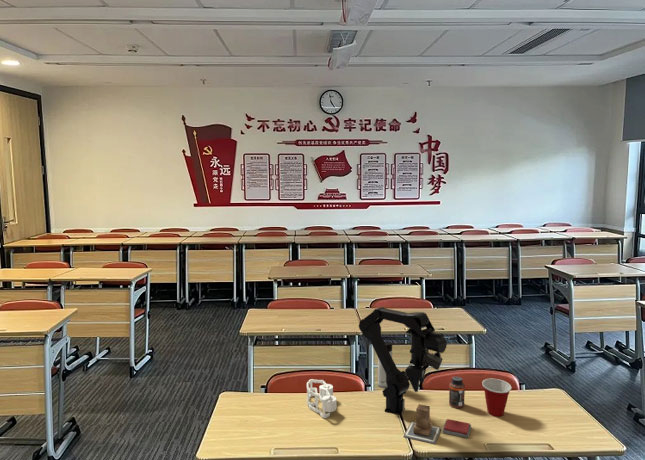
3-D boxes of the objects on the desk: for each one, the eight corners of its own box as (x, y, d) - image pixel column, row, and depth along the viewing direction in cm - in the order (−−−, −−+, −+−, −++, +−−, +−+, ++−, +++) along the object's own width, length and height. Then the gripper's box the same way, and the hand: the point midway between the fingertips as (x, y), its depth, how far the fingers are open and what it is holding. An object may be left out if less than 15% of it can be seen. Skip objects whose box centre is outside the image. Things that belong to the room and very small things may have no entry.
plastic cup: (487, 420, 173) (487, 390, 172) (477, 407, 184) (477, 378, 183) (515, 420, 174) (516, 390, 173) (504, 407, 184) (505, 378, 183)
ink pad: (442, 432, 165) (442, 428, 165) (446, 422, 172) (446, 418, 172) (468, 438, 161) (468, 433, 161) (471, 427, 168) (471, 423, 168)
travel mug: (383, 390, 200) (383, 345, 198) (375, 384, 206) (375, 341, 204) (395, 387, 203) (395, 343, 201) (386, 381, 209) (386, 339, 207)
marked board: (403, 437, 162) (403, 435, 162) (411, 422, 172) (411, 421, 172) (435, 444, 158) (435, 442, 158) (440, 429, 168) (440, 427, 167)
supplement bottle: (465, 409, 182) (465, 382, 182) (449, 408, 184) (450, 380, 183) (463, 402, 188) (464, 376, 187) (448, 401, 190) (449, 374, 189)
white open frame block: (337, 417, 177) (337, 399, 176) (309, 419, 175) (309, 400, 175) (331, 394, 196) (331, 378, 196) (305, 395, 195) (305, 379, 195)
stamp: (413, 433, 163) (413, 409, 163) (416, 426, 168) (417, 402, 168) (428, 437, 161) (429, 412, 160) (431, 429, 166) (432, 405, 165)
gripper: (435, 357, 160) (435, 400, 161) (444, 341, 177) (444, 380, 178) (404, 353, 165) (404, 395, 166) (416, 338, 182) (416, 376, 183)
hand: (418, 386), depth 173 cm, fingers open, 9 cm apart
